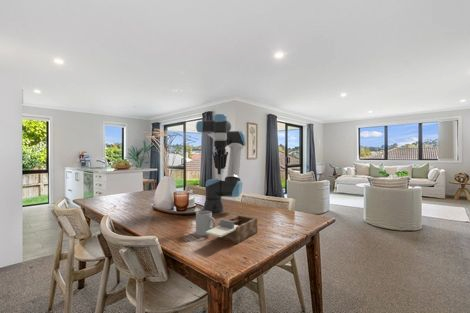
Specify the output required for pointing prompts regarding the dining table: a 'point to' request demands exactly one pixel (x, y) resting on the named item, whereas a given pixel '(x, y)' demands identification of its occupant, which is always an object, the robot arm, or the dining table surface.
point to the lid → (223, 228)
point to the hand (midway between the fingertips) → (220, 179)
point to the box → (241, 229)
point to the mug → (204, 222)
